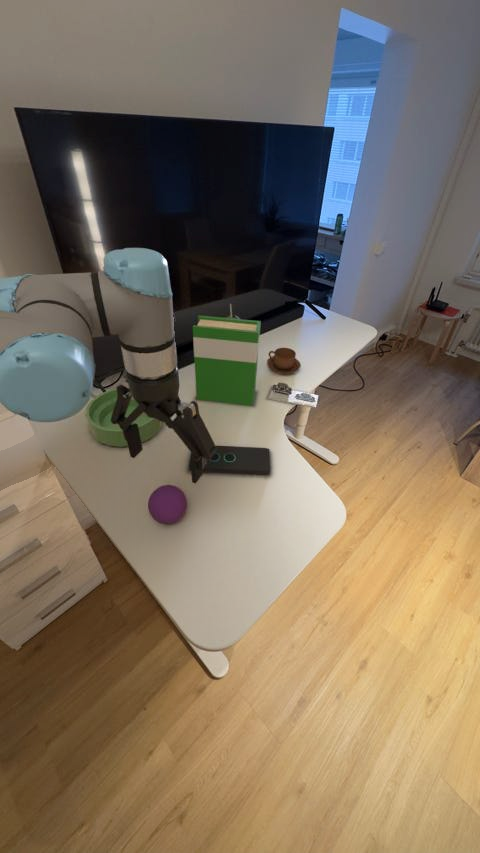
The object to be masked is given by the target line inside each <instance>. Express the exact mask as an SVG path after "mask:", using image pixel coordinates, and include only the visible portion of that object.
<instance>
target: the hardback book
mask: <svg viewBox="0 0 480 853" xmlns="http://www.w3.org/2000/svg"><path fill="white" fill-rule="evenodd" d="M261 325H262V321H261V320H252V319H250V320H249V319H243V318H242V319H241V318H240V319H231V318H226V317H219V316H209V315H198V316H197V325H195V324H193V326H192V341H193V358H194V359H193V360H194V375H195V376H194V377H195V397H196V400H200V401H209V402H217V403H227V404H235V405H245V406H252V407H253V406H254V401H255V394H256V385H257V374H258V361H259V350H260V339H261V338H260V337H261Z"/></svg>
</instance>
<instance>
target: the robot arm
mask: <svg viewBox="0 0 480 853" xmlns="http://www.w3.org/2000/svg"><path fill="white" fill-rule="evenodd" d="M173 306H174V305H173V292H172V286H171V280H170V273H169V265H168V261H167V259H166V258H165V257H164V256H163V254H162V253H160V252H158V251H156V250H153V249H149V248H146V247H145V248H144V247H125V248H122V249H114V250H110V251H109V252H107V253H106V254H105V255H104V256H103V267H102V270H98V271H92V272H73V273H72V272H71V273H53V274H52V273H51V274H31V273H26V274H23V275H19V276H11V277H10V276H9V277H4V278H1V279H0V404H1V405H2V406H3V407H4V408H5V409H6V410H7V411H9V412H10V413H12V414H14V415H18V416H20V417H22V418H25V419H28V421H32V422H35V423H36V422H37V423H54V422H61V421H63V420H67V419H69V418H71V417H74V416H76V415H77V414H78V413H80V412H81V411H82V410H83V409H84V408H85V406H86V405H87V404H88V402H89V401H90V398H91V396H92V393H93V389H94V378H95V375H96V363H95V359H94V358H95V357H94V348H93V347H94V345H93V338H101V337H108V336H112V335H118V338H119V340H118V341H119V344H120V350H121V354H122V360H123V366H124V370H125V371H126V372H125V374H126V380H124V381H122V383H120V384H119V385H117V386H116V388H117V395H118V397H117V400H116V404H115V407H114V410H113V413H112V417H111V422H112V423H113V424H116V423H117V424H118V425H119V427H120V428H121V429H122V430H123V434H124V438H125V440H126V441H127V444H128V446H127V447H128V452H129V456H130V458H131V459H135V458H136V457H137V456H138V455H139V454H140V453H141V452H142V451H143V450H144V449H143V442H141V438H140V433H139V429H138V424H135V423H134V424H133V425H132V423H133V422H134V421H135V420H136V419H137V418H138V417H139V416H140V415H141V414H142V413H143V412H145V413H146V414H147V415H148V417H151V418H156V419H157V420H159V421H162V422H163V423H164V424H165V426H166V427H167V428H168V429H171V430H173V431H174V433H175V434H176V435H177V436H178V438H179V439H180V440H181V441H182V443H183V444H184V446H185V447H186V448H187V449H188V450H189V452H190V456H191V457H189V461H190V462H191V471H190V473H191V474H190V475H191V483H192V484H195V485H196V484H197V483H198V481H199V480H200V479H201V477H202V476H203V475H204V472H203V468H204V467H205V465H206V464H207V462H206V460H209V459H210V458H211V457H212V456H213V454H214V453H215V452H216V450H217V448H216V446H217V445H216V443H215V442H214V439H213V437H212V435H211V434H210V432H209V430H208V428H207V426H206V424H205V422H204V419H203V418H202V416H201V414H200V410H199V404H198V402H197V401H195V400H191V401H190V402H189V403H187V402H184V401H182V399H181V398H180V396H179V391H180V374H179V367H178V354H177V347H176V342H175V331H174V318H175V316H174V317H173V315H174V307H173ZM132 396H133V398H134V399H135V400H136V402H137V403H138V404H139V405H138V406H137V407H136V408H135V409H134V410H133V412H132V413H131V414H130V415H129V416H128V417H127V418H126V417H125V414H126V411H127V409H128V406H129V403H130V400H131V397H132ZM174 415H176V416H175V418H173V416H174ZM172 418H173V419H172ZM215 445H216V446H215ZM191 453H192V455H191Z"/></svg>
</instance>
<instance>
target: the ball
mask: <svg viewBox="0 0 480 853" xmlns="http://www.w3.org/2000/svg"><path fill="white" fill-rule="evenodd" d="M187 508H188V500H187V497H186V494H185V493H184V491H183V490H182V489H181V488H180V487H178V486H176V485H174V484H164V485H161V486H158V487H156V488H155V489H154V490H153V492H151V494H150V495H149V498H148V502H147V510H148V512H149V515H150V516H151V518H152V519H153V520H154V521H156V522H158V523H160V524H163V525H170V524H174V523H177V522H178V521H180V520H181V518H182V517H183V516H184V515H185V513H186V510H187Z"/></svg>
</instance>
